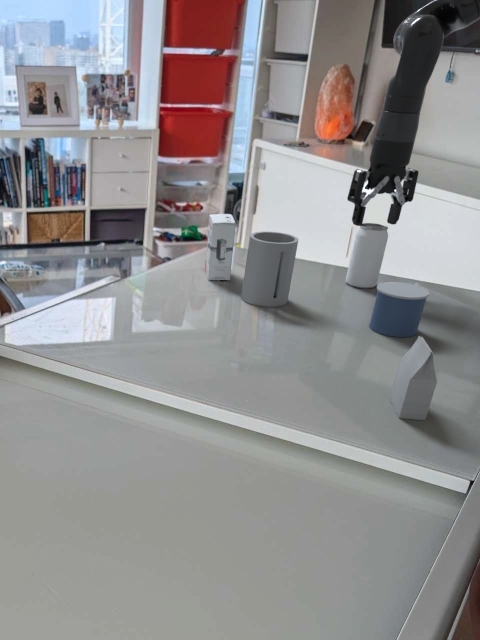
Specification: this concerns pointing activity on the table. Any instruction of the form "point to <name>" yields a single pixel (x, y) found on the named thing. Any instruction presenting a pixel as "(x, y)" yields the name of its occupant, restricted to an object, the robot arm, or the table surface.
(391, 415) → the table surface
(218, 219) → the ink box
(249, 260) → the cup
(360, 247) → the can
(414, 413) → the grey milk carton
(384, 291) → the yogurt tub
